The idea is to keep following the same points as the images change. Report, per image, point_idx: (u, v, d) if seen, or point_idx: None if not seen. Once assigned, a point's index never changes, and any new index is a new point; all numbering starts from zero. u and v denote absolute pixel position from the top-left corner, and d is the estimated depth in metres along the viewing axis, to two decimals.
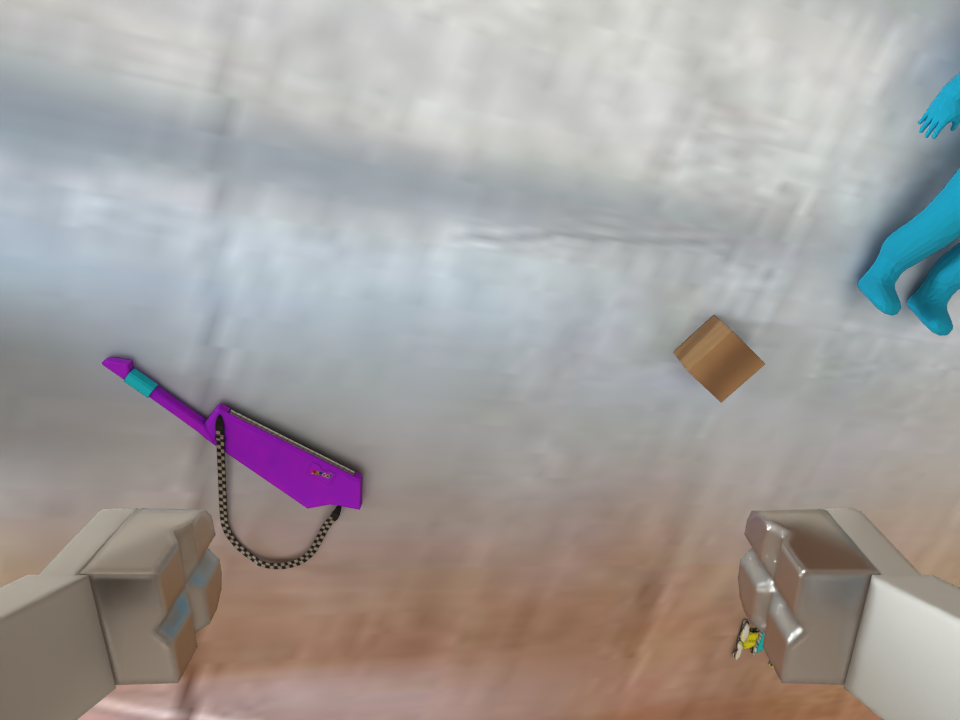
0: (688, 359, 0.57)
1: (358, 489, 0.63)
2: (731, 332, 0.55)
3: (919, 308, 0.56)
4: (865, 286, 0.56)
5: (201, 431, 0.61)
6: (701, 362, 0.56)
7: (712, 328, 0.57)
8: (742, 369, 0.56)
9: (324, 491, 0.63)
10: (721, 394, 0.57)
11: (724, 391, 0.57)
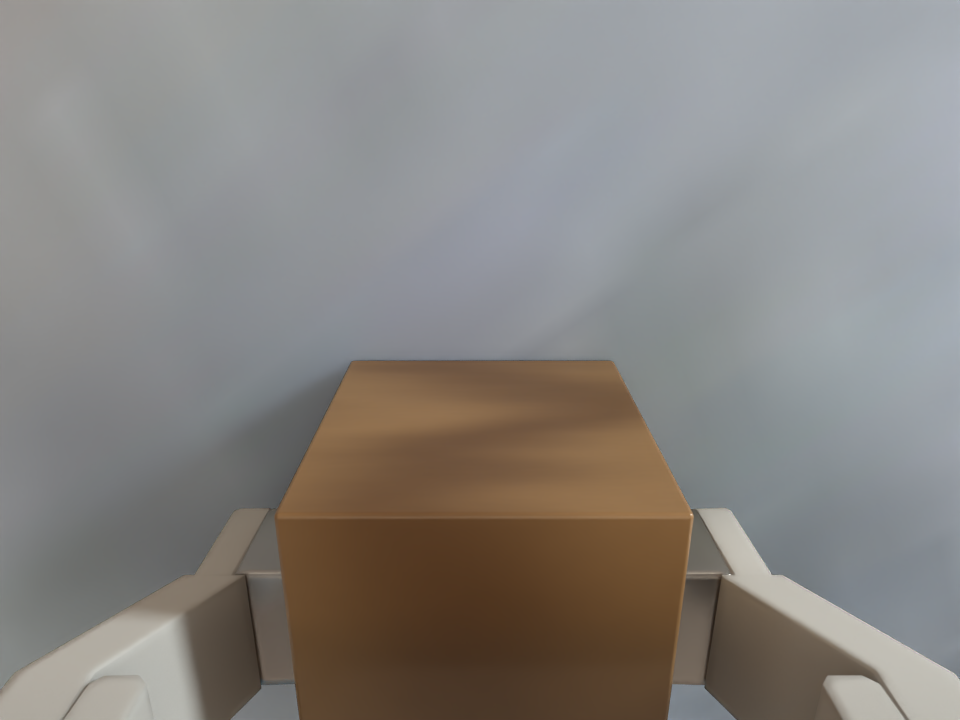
0: None
1: None
2: None
3: None
4: None
5: None
6: (652, 616, 0.07)
7: None
8: None
9: None
10: (332, 556, 0.07)
11: (337, 583, 0.07)
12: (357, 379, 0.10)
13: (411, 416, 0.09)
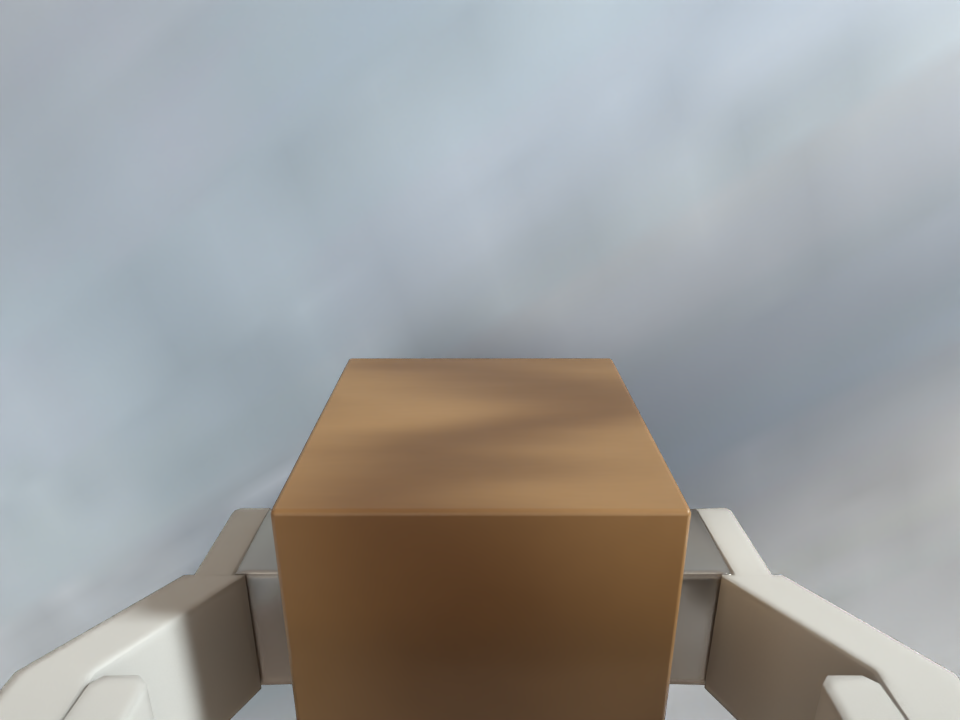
0: None
1: None
2: None
3: None
4: None
5: None
6: (649, 614, 0.07)
7: None
8: None
9: None
10: (329, 553, 0.07)
11: (334, 580, 0.07)
12: (356, 376, 0.10)
13: (409, 414, 0.09)
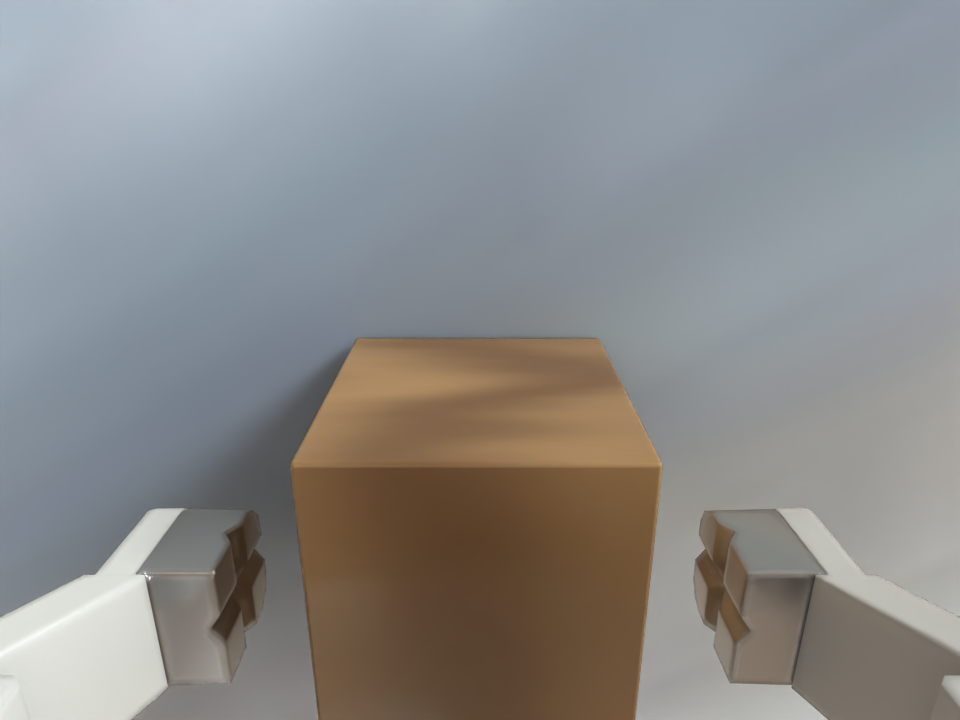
0: None
1: None
2: None
3: None
4: None
5: None
6: (627, 556, 0.08)
7: None
8: (390, 675, 0.09)
9: None
10: (341, 501, 0.08)
11: (345, 526, 0.08)
12: (362, 353, 0.11)
13: (412, 385, 0.10)
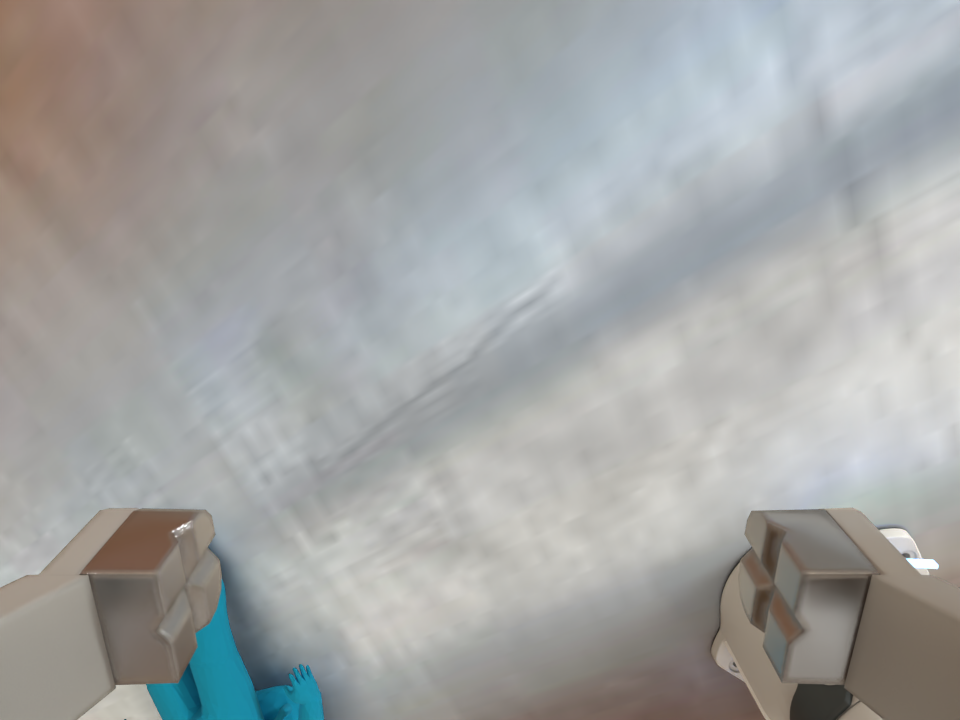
0: None
1: None
2: None
3: None
4: None
5: None
6: None
7: None
8: None
9: None
10: None
11: None
12: None
13: None
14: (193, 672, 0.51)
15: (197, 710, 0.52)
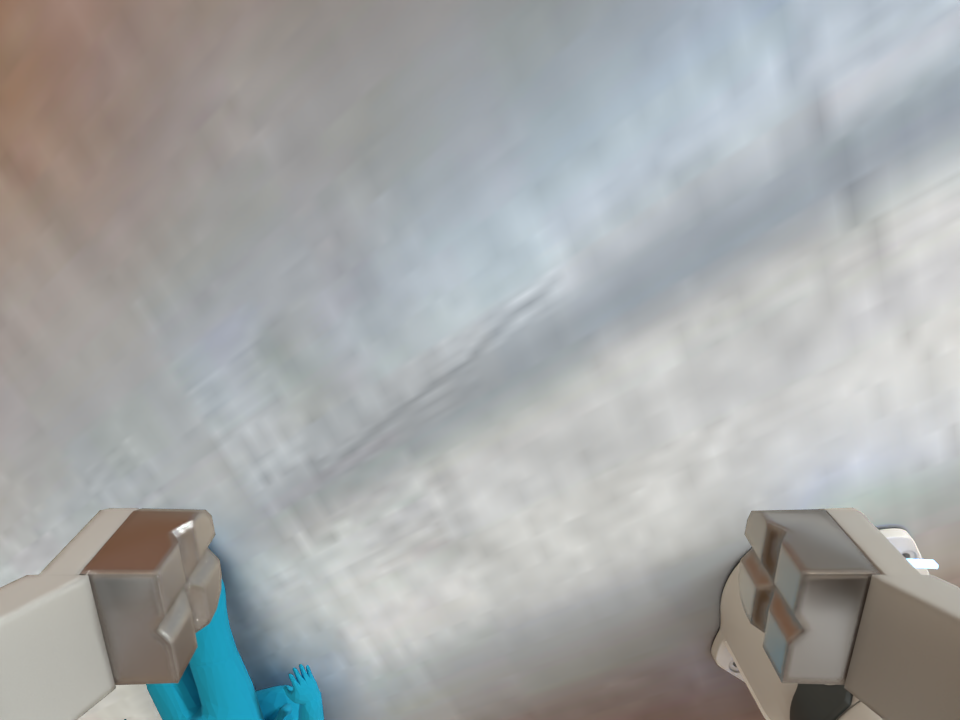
0: None
1: None
2: None
3: None
4: None
5: None
6: None
7: None
8: None
9: None
10: None
11: None
12: None
13: None
14: (193, 672, 0.51)
15: (197, 710, 0.52)
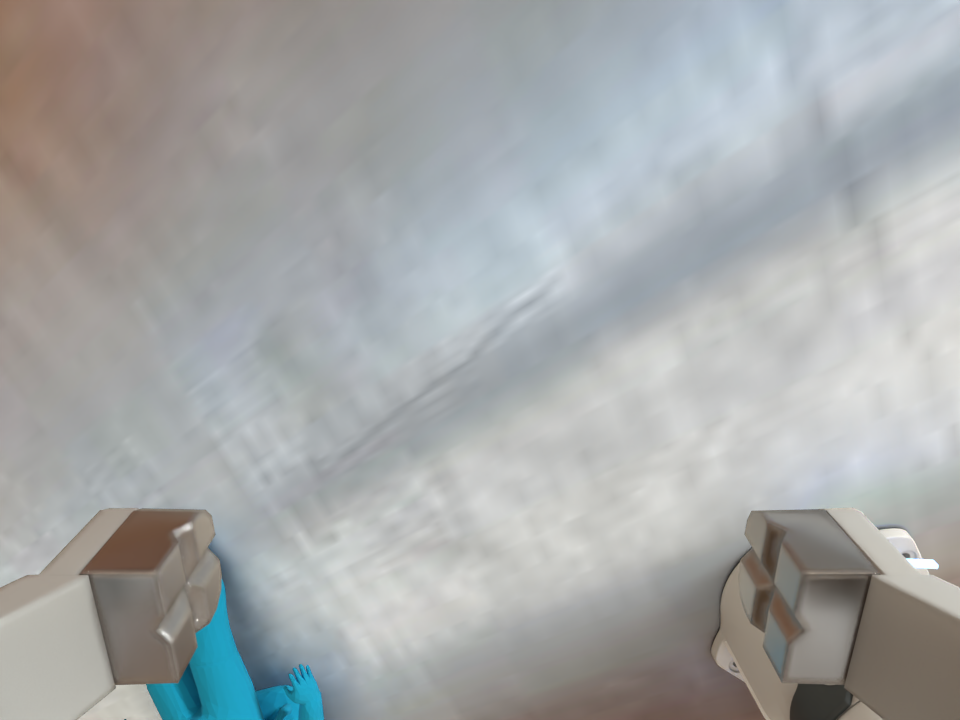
0: None
1: None
2: None
3: None
4: None
5: None
6: None
7: None
8: None
9: None
10: None
11: None
12: None
13: None
14: (193, 672, 0.51)
15: (197, 710, 0.52)
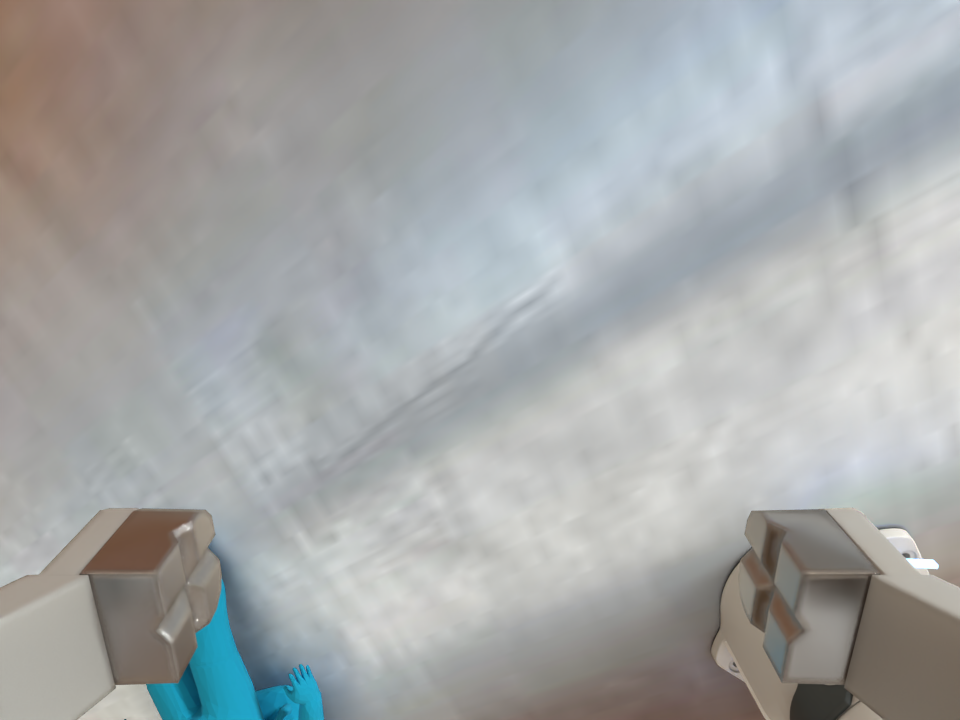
0: None
1: None
2: None
3: None
4: None
5: None
6: None
7: None
8: None
9: None
10: None
11: None
12: None
13: None
14: (193, 672, 0.51)
15: (197, 710, 0.52)
